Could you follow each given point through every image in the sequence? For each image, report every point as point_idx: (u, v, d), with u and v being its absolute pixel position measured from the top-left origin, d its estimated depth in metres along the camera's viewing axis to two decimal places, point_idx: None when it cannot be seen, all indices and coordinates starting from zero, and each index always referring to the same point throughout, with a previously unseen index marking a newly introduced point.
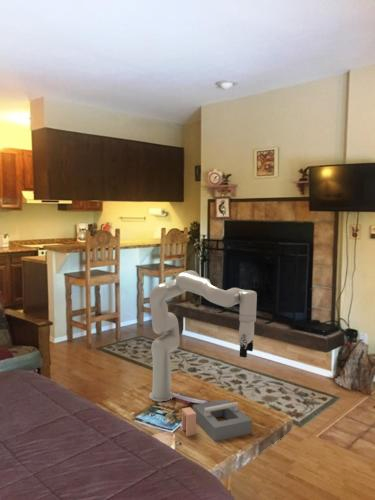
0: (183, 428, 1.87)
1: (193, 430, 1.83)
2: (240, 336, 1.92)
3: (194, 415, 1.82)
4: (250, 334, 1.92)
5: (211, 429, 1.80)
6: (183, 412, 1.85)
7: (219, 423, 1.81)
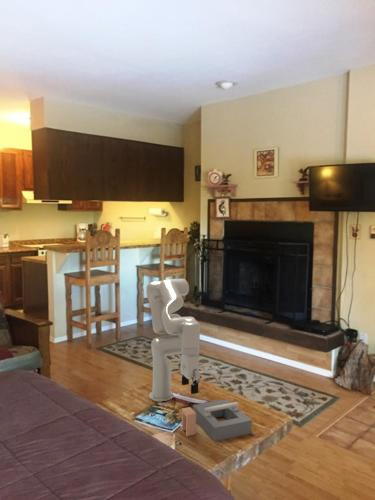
0: (183, 428, 1.87)
1: (193, 430, 1.83)
2: (191, 372, 1.77)
3: (194, 415, 1.82)
4: None
5: (211, 429, 1.80)
6: (183, 412, 1.85)
7: (219, 423, 1.81)
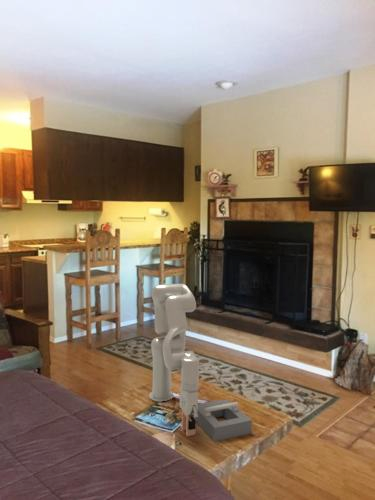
0: (183, 428, 1.87)
1: (193, 430, 1.83)
2: (190, 410, 1.79)
3: None
4: None
5: (211, 429, 1.80)
6: (183, 412, 1.85)
7: (219, 423, 1.81)
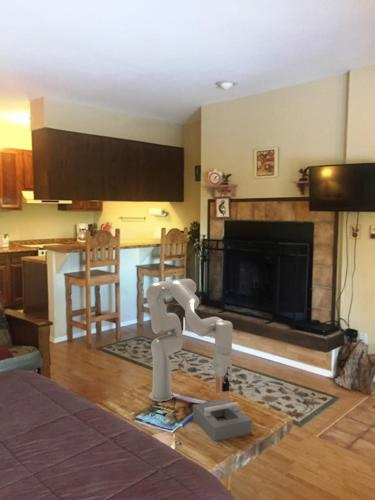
0: (216, 391, 1.92)
1: (227, 392, 1.88)
2: (225, 372, 1.84)
3: None
4: None
5: (211, 429, 1.80)
6: (217, 375, 1.90)
7: (219, 423, 1.81)
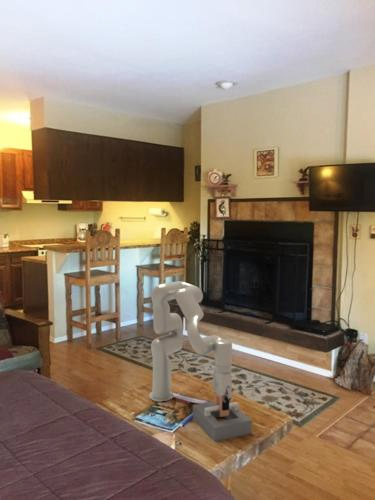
0: None
1: (227, 411, 1.89)
2: (224, 391, 1.85)
3: None
4: None
5: (211, 429, 1.80)
6: (216, 394, 1.91)
7: (219, 423, 1.81)
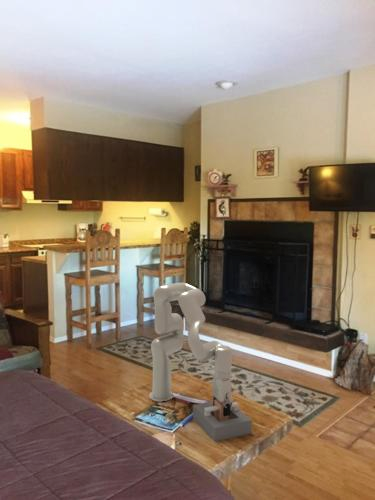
0: None
1: None
2: (224, 395, 1.85)
3: None
4: None
5: (211, 429, 1.80)
6: (216, 403, 1.91)
7: (219, 423, 1.81)
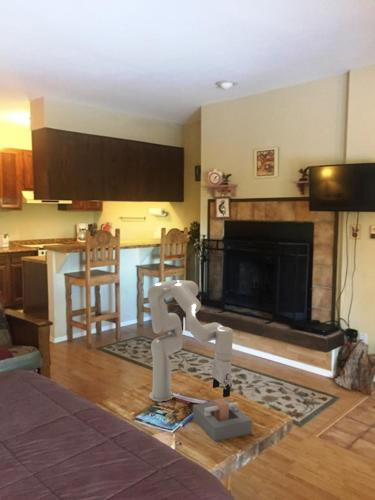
0: None
1: None
2: (224, 377, 1.85)
3: (227, 406, 1.89)
4: None
5: (211, 429, 1.80)
6: (216, 403, 1.91)
7: (219, 423, 1.81)
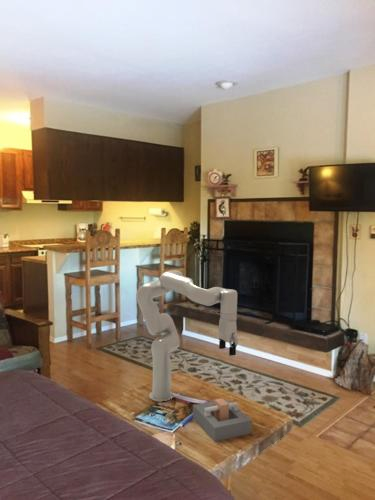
0: None
1: None
2: (230, 335, 1.94)
3: (227, 406, 1.89)
4: None
5: (211, 429, 1.80)
6: (216, 403, 1.91)
7: (219, 423, 1.81)
